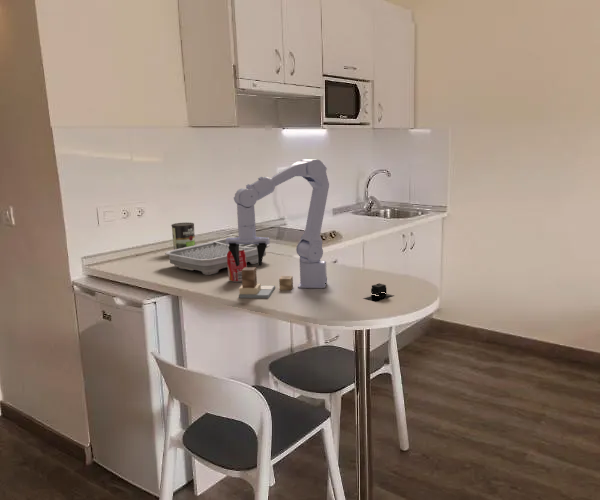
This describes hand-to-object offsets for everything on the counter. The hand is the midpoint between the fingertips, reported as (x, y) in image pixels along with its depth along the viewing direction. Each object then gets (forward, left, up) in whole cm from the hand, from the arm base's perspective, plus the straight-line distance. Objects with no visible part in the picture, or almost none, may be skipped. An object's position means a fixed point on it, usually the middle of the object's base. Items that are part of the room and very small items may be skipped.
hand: (249, 265), depth 179 cm
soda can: (+9, -18, -10) cm, 23 cm away
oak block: (-11, -8, -10) cm, 17 cm away
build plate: (-2, -2, -10) cm, 10 cm away
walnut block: (0, 0, -7) cm, 7 cm away
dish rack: (+24, -43, -11) cm, 50 cm away
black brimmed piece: (-43, +2, -11) cm, 44 cm away
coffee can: (+47, -66, -10) cm, 82 cm away
